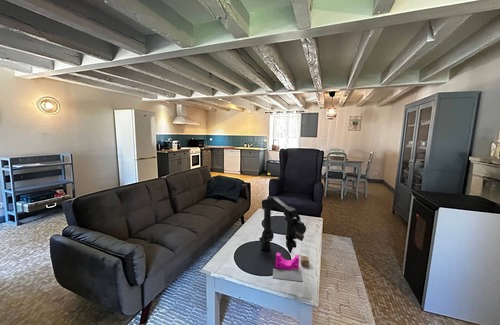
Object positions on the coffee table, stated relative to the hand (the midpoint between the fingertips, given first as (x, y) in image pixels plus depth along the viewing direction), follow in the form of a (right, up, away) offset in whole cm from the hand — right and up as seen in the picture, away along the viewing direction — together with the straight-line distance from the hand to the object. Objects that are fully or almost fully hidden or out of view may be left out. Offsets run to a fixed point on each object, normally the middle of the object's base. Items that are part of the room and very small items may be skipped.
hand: (289, 250), depth 136 cm
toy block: (-2, -12, +2) cm, 12 cm away
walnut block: (+11, -12, +6) cm, 17 cm away
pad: (-3, -13, -7) cm, 15 cm away
